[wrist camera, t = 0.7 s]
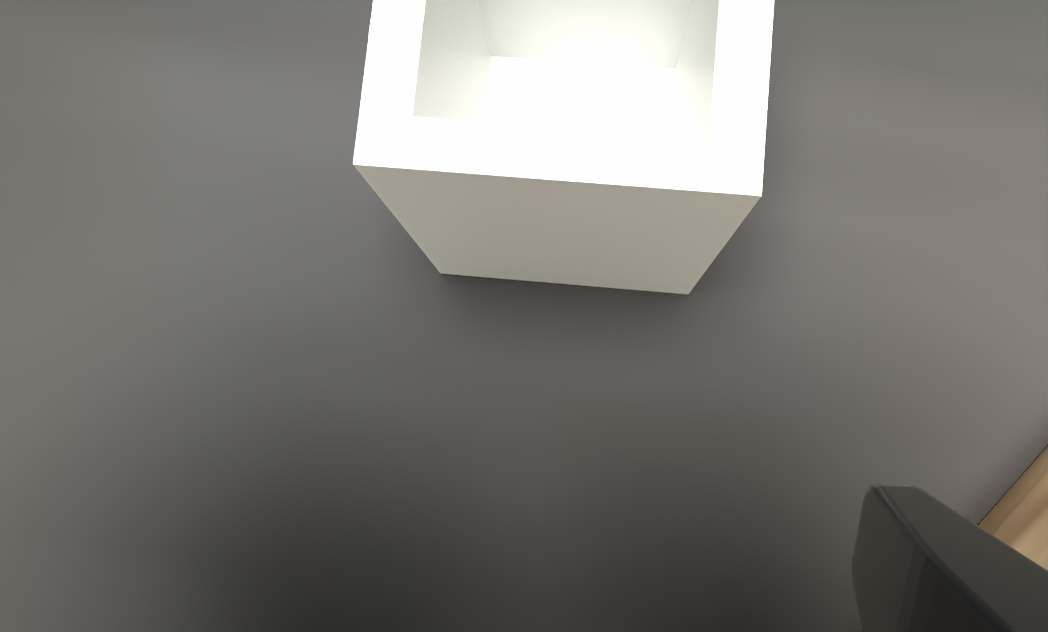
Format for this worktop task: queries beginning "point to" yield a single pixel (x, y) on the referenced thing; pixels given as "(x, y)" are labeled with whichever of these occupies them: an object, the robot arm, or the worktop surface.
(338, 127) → the worktop surface
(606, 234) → the white crate
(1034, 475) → the pine crate
